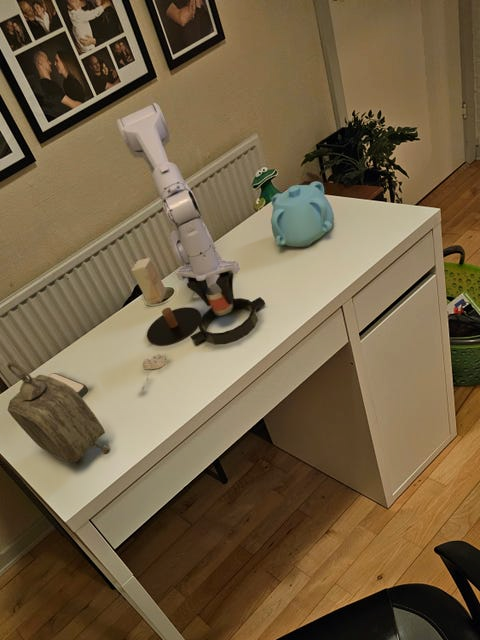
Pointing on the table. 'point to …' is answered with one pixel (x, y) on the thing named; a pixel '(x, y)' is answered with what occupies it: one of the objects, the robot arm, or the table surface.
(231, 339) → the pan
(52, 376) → the phone case
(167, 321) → the pan lid
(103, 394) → the table surface
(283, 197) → the decorative pot
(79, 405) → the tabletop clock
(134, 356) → the table surface
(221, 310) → the can
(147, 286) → the box
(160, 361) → the game controller
